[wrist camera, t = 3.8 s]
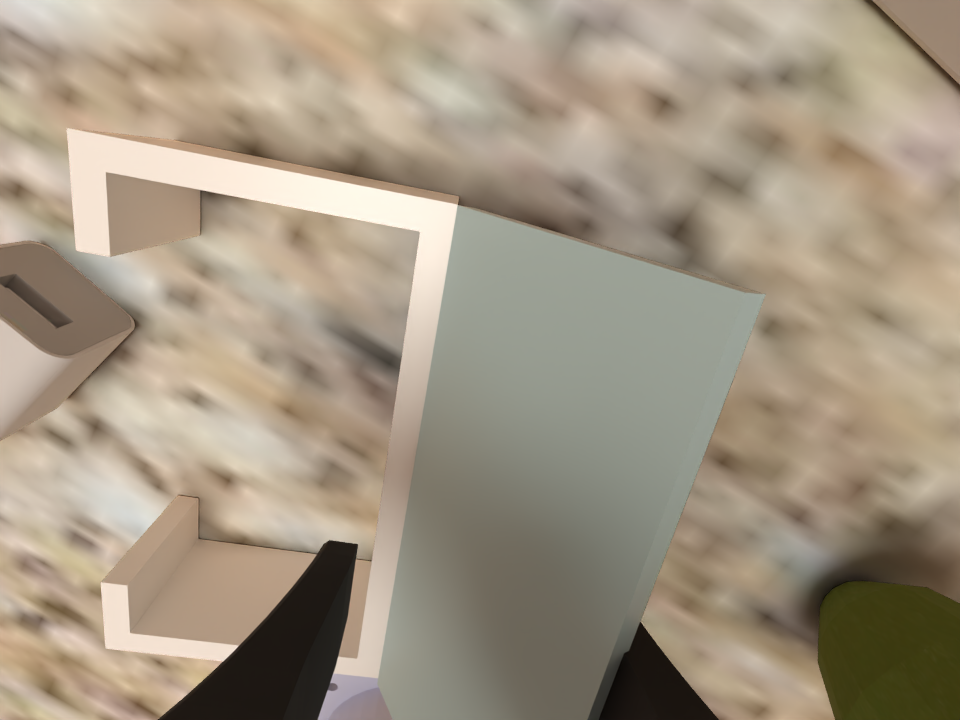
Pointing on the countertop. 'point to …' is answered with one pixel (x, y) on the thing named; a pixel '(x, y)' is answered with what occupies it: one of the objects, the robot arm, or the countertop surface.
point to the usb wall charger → (49, 332)
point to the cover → (549, 468)
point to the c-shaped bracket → (174, 535)
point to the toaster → (930, 28)
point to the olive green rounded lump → (890, 652)
